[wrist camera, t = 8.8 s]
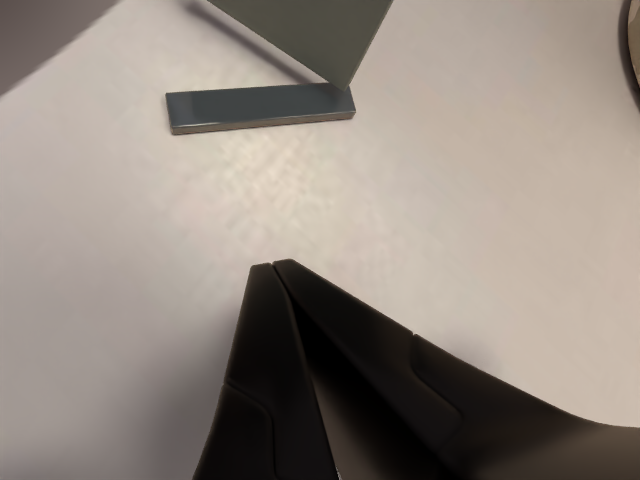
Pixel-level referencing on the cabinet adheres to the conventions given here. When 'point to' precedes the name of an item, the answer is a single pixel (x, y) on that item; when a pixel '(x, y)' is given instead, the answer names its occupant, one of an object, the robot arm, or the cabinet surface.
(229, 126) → the dark grey flat bar
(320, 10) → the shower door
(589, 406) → the cabinet surface
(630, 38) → the vase
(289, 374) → the robot arm
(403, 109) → the cabinet surface
